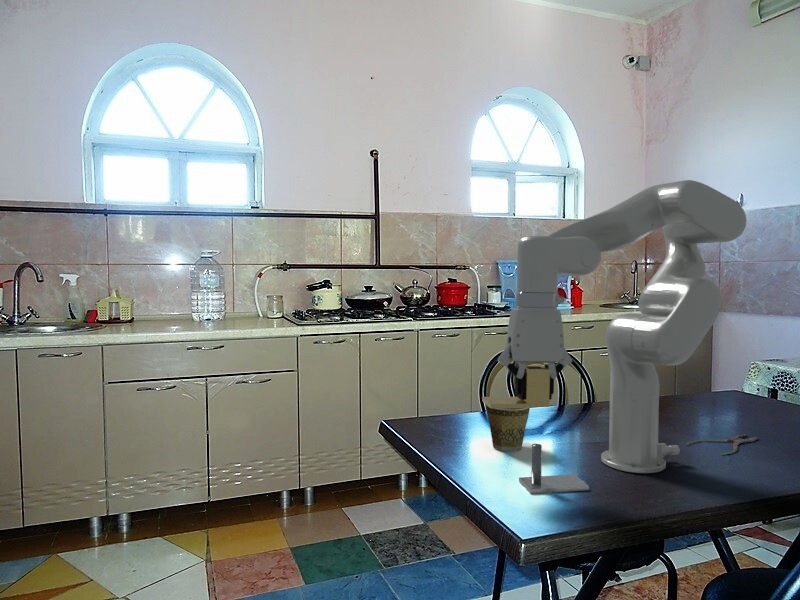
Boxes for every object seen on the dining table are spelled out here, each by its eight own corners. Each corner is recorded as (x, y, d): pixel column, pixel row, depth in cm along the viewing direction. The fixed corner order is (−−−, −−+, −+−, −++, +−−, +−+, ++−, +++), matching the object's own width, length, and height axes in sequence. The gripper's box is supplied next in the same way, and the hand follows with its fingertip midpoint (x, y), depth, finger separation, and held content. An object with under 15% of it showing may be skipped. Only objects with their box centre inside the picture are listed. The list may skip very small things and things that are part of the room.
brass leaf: (539, 400, 110) (540, 365, 109) (550, 407, 104) (551, 370, 103) (482, 401, 108) (483, 365, 108) (490, 408, 102) (491, 370, 102)
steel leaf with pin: (574, 478, 110) (574, 438, 110) (588, 490, 104) (589, 447, 104) (518, 481, 108) (519, 440, 108) (530, 493, 102) (530, 450, 102)
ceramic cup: (530, 455, 124) (531, 410, 123) (484, 453, 125) (485, 408, 125) (527, 438, 136) (528, 397, 136) (486, 436, 138) (486, 396, 138)
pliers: (682, 444, 129) (716, 428, 142) (682, 448, 130) (716, 431, 142) (727, 455, 122) (759, 436, 135) (727, 459, 122) (759, 440, 135)
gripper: (571, 301, 110) (568, 393, 111) (487, 300, 108) (485, 394, 109) (588, 303, 103) (585, 402, 103) (498, 302, 101) (496, 403, 102)
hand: (533, 397), depth 106 cm, fingers closed on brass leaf, 4 cm apart
